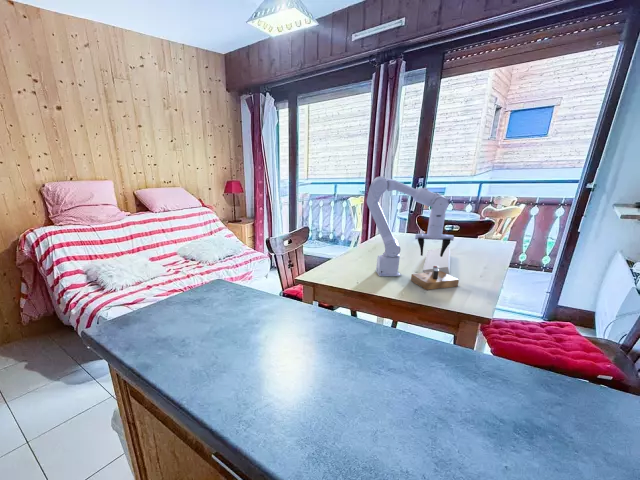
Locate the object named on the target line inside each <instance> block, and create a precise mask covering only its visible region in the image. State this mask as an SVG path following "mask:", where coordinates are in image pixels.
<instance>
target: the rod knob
mask: <svg viewBox="0 0 640 480" xmlns="http://www.w3.org/2000/svg"><path fill="white" fill-rule="evenodd" d="M438 272H439V271H438V267H437V266H433V271H432V276H433V279H437V278H438Z"/></svg>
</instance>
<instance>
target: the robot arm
mask: <svg viewBox="0 0 640 480" xmlns="http://www.w3.org/2000/svg"><path fill="white" fill-rule="evenodd" d="M386 191H388V192H393V191H396V192H399V193H402V194H405V195H407V196H410V197H412V199H413V201H414V202H416V203H418V204H421V205H423V206H425V207H430V214H429V218H428V225H427V231H426V232H427V233H415V236H414V239H415V240H417V242H418V245H419V249H420V256H422V257H423V255H424V247H425V240H434V241H435V240H436V241H442V242H441V247H440V248H441V253H440V257H442V256H443V253H444V251H445V250H446V248H447V247H449V246H450V244H451V242H452V241H454V239H455V235H453V234H446V233H445V234H443V231H444V226H445V219H446V212H447V209H448V207H449V206H450V203H449V200H448V198H447V197H445V196H444V195H442V194H440V193H439V192H433V191H431V190H429V188H427V187H420V188H417V189H416V188H414V187H412V186H409V185H408V184H405V183H403V182H400V181H398V180H395V179H391V178H389V177H386V178H385V177H384V176H381V175H380V176H376V177H375V178H374V179H372V181H371V183H370V185H369V188H368V193H367V197H366V205H367V208H368V209H369V212H370V214H371V216H372V219H373V221H374V223H375V225H376V228H377V229H378V232H379V234H380V237H381V239H382V242H383V245H384V246H383V247H384V252H383V253H382V254H381V255H377V256H376V257H377V258H376V265H375V266H376V267H375V273H376V274H377V275H378V276H379V277H401V273H400V272H399V268H400V259H401V254H400V253H401V247H400V242H399V240H398V239H396V238H395V236H394V234H393V232H392V231H391V228H390V225H389V224H388V221H387V218H386V216H385V214H384V212H383V209H382V207H381V205H380V199H381V197H382V195H384V193H385V192H386Z"/></svg>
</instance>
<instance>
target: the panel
mask: <svg viewBox="0 0 640 480" xmlns="http://www.w3.org/2000/svg"><path fill="white" fill-rule="evenodd" d="M410 281H411V282H412V283H414V284H416V285H418V286H419V287H420V288H421V289H424V290H427V291H429V290H438V289H446V288H455V287H459V284H460V283H459V281H460V279H458V278H457V277H454V276H452V275H448V274H446V273H444V272H442V271H439V272H438V278H437V279H433V276H432V272H427V273H424V272H419V273H418V272H417V273H412V274H411V276H410Z"/></svg>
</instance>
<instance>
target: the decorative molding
mask: <svg viewBox="0 0 640 480" xmlns="http://www.w3.org/2000/svg"><path fill="white" fill-rule="evenodd" d="M441 248H442V247H439V248H433V249H427V252H426V256H425V259H424V260H425V261H424V264H423V267H422V273H427V272H432V271H433V266H437V267H438V271H442V272H444V273H446V274H448V275H450V273H451V272H450V271H451V249H450V246H448V247H447V248H446V250H445V251H444V253H443V256H442V257H440V253H441Z"/></svg>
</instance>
